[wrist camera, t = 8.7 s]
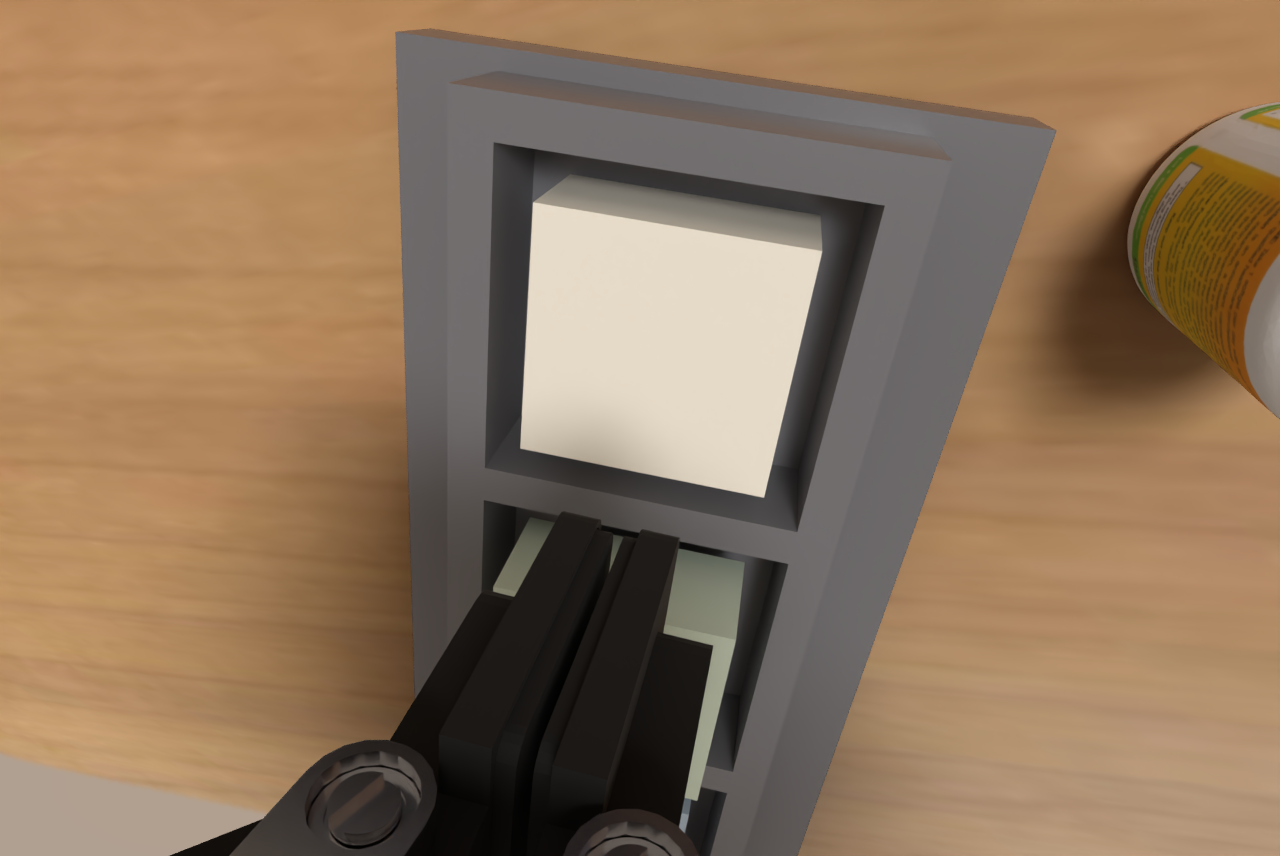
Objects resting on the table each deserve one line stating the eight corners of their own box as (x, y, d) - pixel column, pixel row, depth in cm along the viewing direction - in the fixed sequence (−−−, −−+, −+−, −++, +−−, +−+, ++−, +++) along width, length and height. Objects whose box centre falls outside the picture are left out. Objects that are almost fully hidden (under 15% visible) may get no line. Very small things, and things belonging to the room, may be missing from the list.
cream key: (820, 215, 19) (822, 251, 16) (769, 436, 22) (763, 497, 19) (570, 174, 19) (532, 202, 17) (553, 395, 22) (519, 448, 20)
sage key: (745, 562, 22) (736, 640, 19) (708, 715, 25) (697, 800, 22) (530, 517, 22) (493, 586, 20) (520, 671, 25) (487, 749, 23)
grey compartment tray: (1033, 117, 19) (1100, 154, 15) (782, 855, 33) (777, 984, 29) (430, 28, 20) (328, 37, 16) (437, 770, 35) (384, 881, 30)
